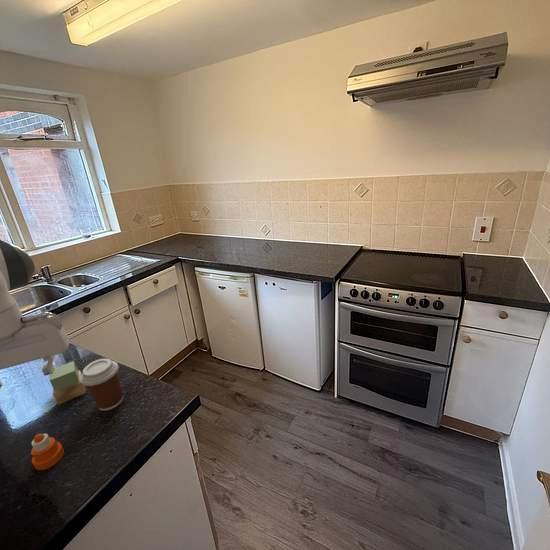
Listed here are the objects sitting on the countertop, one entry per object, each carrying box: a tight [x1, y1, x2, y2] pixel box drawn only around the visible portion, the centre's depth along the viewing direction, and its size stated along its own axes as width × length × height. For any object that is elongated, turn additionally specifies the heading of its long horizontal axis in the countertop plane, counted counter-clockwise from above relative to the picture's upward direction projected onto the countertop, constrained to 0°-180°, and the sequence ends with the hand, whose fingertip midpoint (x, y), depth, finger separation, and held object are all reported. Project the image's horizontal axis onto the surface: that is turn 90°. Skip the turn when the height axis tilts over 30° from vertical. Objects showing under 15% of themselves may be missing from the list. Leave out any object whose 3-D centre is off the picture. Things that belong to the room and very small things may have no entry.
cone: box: [30, 433, 65, 471], centre depth 67 cm, size 6×6×7 cm
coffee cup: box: [80, 358, 125, 412], centre depth 81 cm, size 9×9×12 cm
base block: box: [52, 369, 87, 406], centre depth 88 cm, size 7×7×4 cm
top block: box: [49, 360, 79, 392], centre depth 86 cm, size 6×6×4 cm
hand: (24, 380), depth 63 cm, fingers open, 8 cm apart
